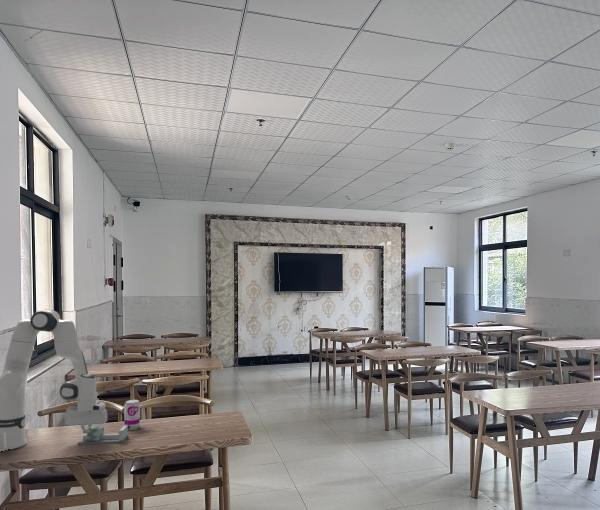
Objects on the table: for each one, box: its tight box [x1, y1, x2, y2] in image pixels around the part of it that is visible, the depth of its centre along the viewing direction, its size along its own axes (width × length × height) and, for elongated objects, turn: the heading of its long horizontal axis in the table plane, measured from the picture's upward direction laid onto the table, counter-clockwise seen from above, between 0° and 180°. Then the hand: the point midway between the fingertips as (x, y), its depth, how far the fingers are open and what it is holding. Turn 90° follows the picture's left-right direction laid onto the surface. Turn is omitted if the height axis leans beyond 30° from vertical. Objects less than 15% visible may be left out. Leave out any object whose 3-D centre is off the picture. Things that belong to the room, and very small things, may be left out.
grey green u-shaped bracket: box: [77, 425, 129, 446], centre depth 228 cm, size 22×10×6 cm, turn 95°
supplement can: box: [123, 399, 141, 431], centre depth 248 cm, size 8×8×15 cm
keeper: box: [86, 425, 105, 441], centre depth 228 cm, size 6×7×5 cm
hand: (86, 432), depth 227 cm, fingers closed
